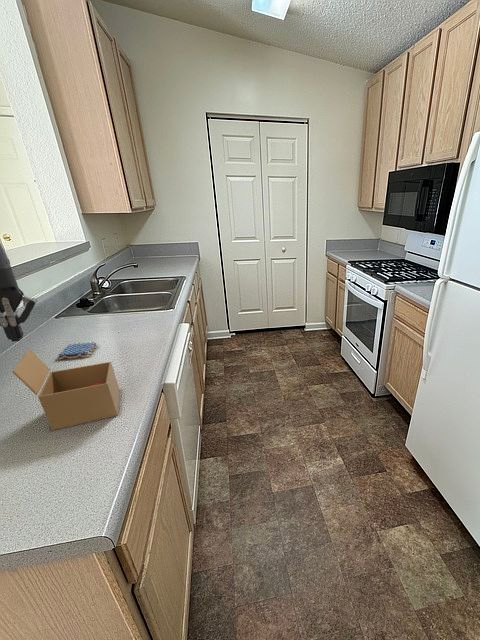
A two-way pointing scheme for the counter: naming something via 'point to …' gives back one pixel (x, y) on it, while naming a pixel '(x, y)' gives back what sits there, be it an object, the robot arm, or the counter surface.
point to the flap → (31, 371)
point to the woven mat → (77, 350)
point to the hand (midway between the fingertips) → (17, 340)
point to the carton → (80, 395)
